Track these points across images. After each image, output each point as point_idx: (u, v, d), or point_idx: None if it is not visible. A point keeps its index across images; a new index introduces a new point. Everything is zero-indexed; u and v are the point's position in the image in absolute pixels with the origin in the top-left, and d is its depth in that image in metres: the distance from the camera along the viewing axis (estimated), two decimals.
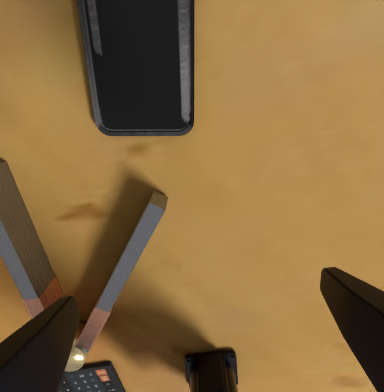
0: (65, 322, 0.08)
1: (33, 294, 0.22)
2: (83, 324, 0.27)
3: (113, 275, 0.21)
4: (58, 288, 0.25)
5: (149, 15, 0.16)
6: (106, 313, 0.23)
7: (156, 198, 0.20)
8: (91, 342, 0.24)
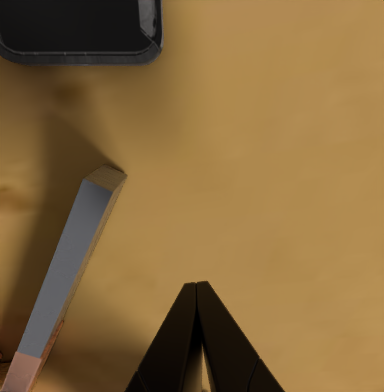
0: None
1: None
2: None
3: (38, 302, 0.13)
4: None
5: None
6: (35, 360, 0.15)
7: (102, 174, 0.12)
8: None
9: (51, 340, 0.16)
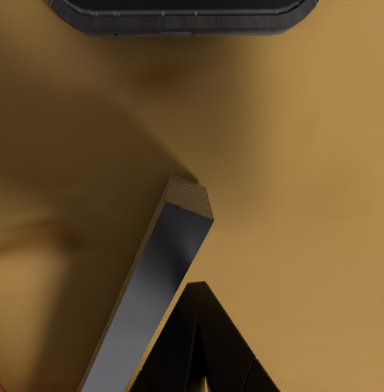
0: None
1: None
2: None
3: (85, 389, 0.09)
4: None
5: None
6: None
7: (181, 190, 0.07)
8: None
9: None
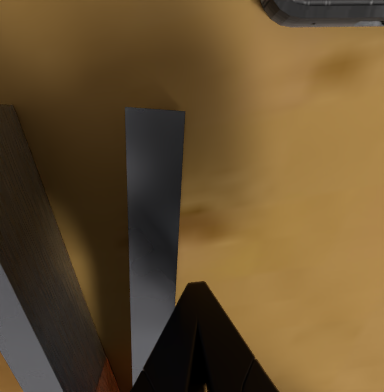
0: None
1: None
2: None
3: (135, 354, 0.08)
4: (112, 380, 0.12)
5: None
6: None
7: None
8: None
9: None
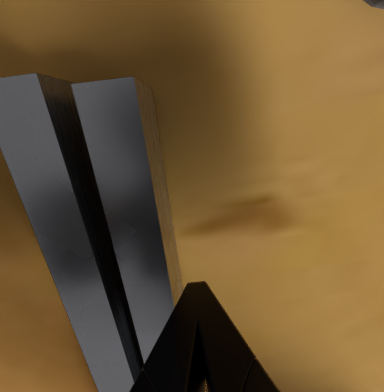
0: None
1: None
2: None
3: (142, 344, 0.08)
4: None
5: None
6: None
7: None
8: None
9: None
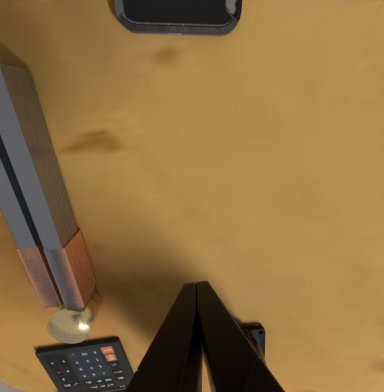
0: None
1: (30, 241, 0.17)
2: None
3: (25, 196, 0.16)
4: None
5: None
6: (60, 251, 0.18)
7: None
8: (77, 295, 0.20)
9: (70, 239, 0.19)
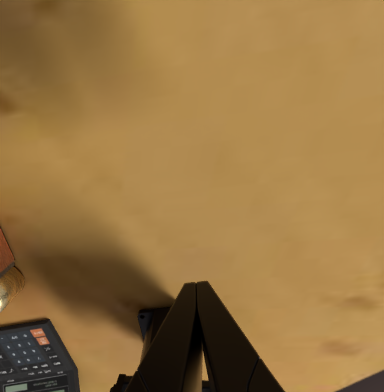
0: None
1: None
2: None
3: None
4: None
5: None
6: None
7: None
8: None
9: None
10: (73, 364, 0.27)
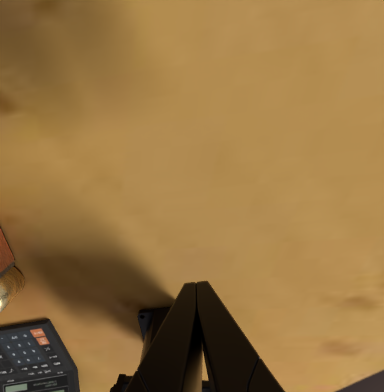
0: None
1: None
2: None
3: None
4: None
5: None
6: None
7: None
8: None
9: None
10: (73, 364, 0.27)
